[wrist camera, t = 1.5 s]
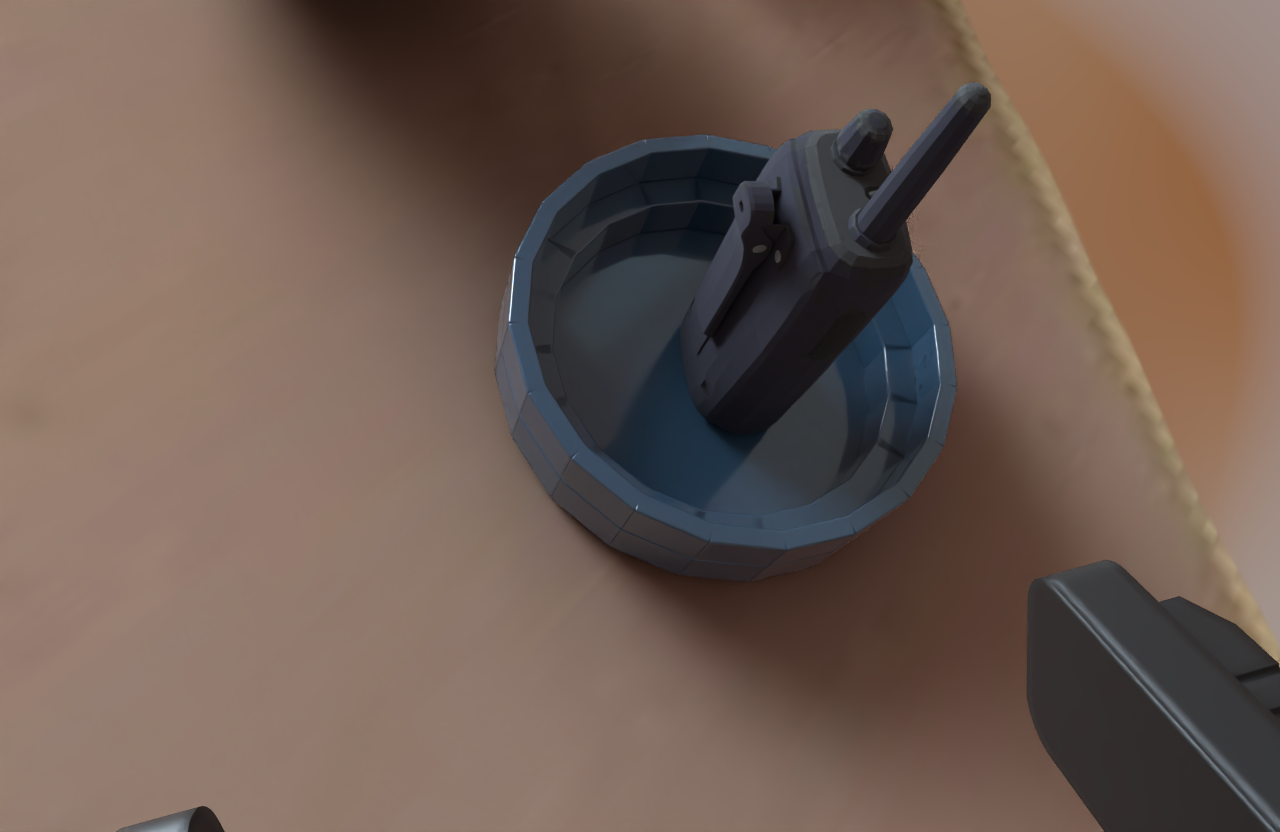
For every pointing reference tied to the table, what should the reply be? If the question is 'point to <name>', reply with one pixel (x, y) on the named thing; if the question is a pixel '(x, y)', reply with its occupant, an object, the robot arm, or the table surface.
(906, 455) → the bowl
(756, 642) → the table surface
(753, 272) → the two-way radio
